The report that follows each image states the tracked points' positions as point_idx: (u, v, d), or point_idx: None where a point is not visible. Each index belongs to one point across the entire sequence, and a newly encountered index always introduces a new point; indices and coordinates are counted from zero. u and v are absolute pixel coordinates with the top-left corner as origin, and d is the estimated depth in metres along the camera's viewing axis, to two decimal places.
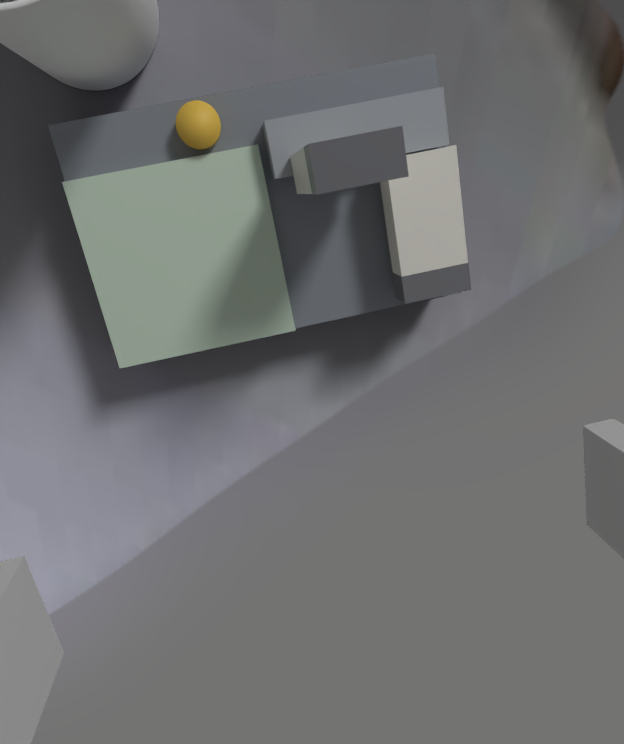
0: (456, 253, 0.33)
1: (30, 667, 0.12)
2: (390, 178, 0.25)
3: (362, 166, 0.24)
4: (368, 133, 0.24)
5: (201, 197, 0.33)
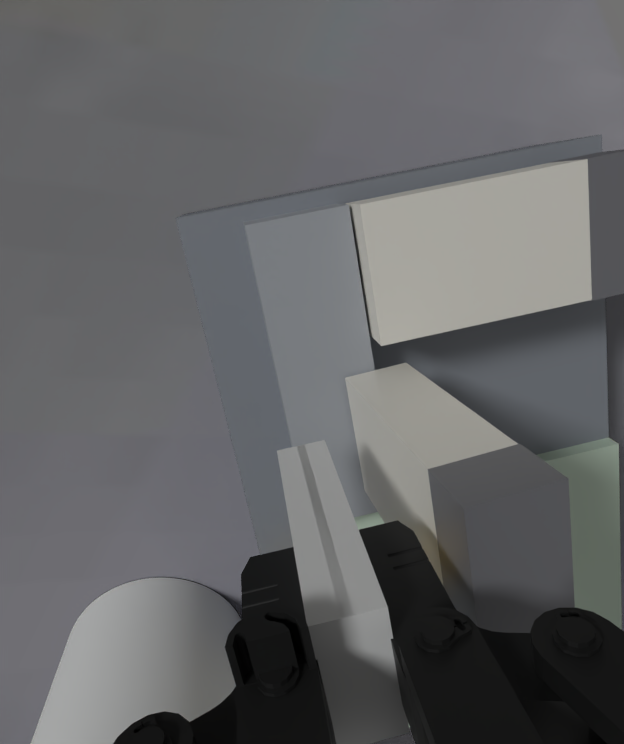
0: (565, 186, 0.16)
1: None
2: (567, 517, 0.11)
3: (535, 578, 0.11)
4: (474, 577, 0.11)
5: None
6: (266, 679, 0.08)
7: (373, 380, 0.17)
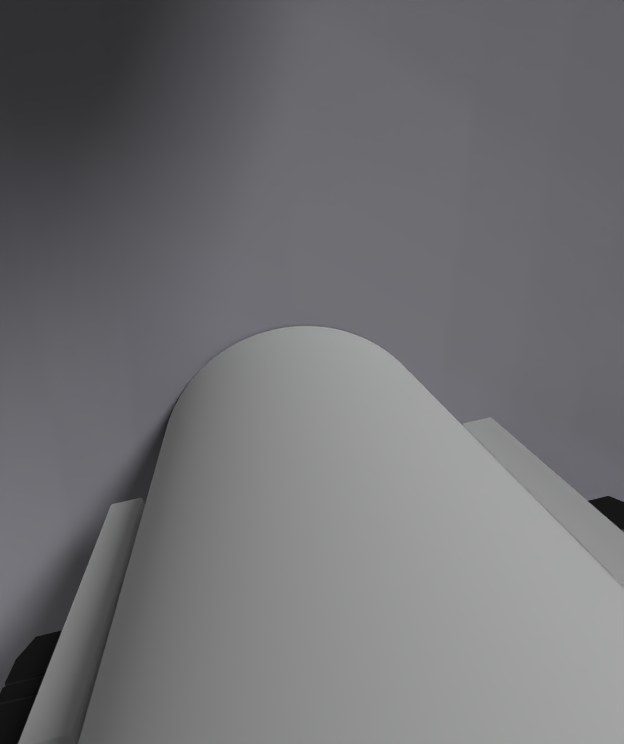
0: None
1: None
2: None
3: None
4: None
5: None
6: None
7: None
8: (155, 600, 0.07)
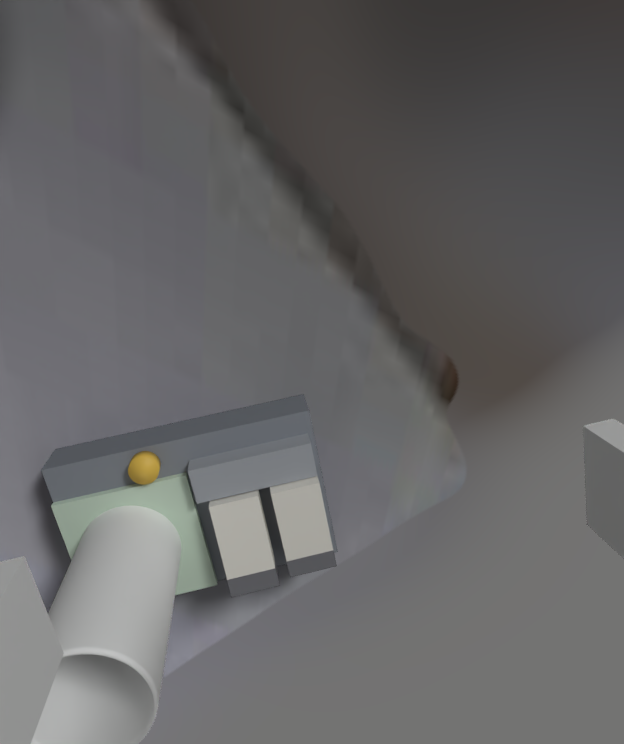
0: (324, 545, 0.48)
1: (30, 667, 0.12)
2: None
3: None
4: (262, 589, 0.48)
5: None
6: None
7: (260, 502, 0.47)
8: (57, 598, 0.38)
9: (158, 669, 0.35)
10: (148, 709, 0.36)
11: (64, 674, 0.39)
